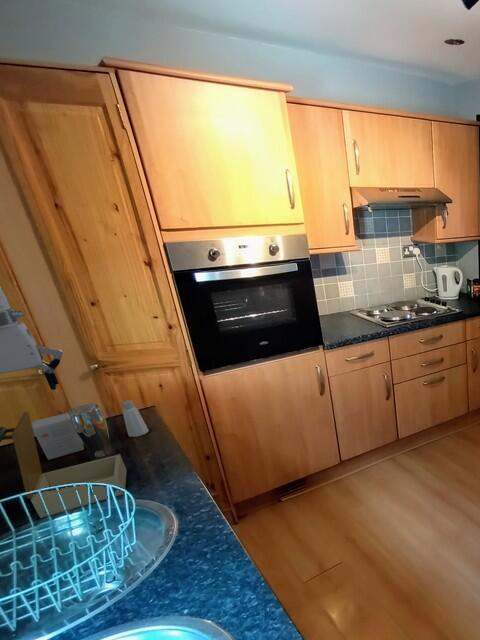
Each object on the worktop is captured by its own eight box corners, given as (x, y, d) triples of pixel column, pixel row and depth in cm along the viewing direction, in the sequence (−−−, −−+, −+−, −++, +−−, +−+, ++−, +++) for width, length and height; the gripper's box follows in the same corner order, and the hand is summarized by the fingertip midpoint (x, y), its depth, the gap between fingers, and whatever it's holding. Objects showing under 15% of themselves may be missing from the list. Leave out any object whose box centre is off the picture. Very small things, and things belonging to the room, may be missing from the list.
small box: (83, 442, 136) (69, 412, 132) (84, 449, 133) (70, 418, 129) (46, 452, 131) (31, 421, 127) (47, 460, 128) (31, 428, 123)
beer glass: (89, 464, 126) (68, 417, 120) (85, 455, 130) (64, 409, 124) (121, 454, 131) (102, 408, 124) (115, 446, 135) (97, 401, 129)
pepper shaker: (151, 427, 145) (140, 396, 141) (146, 435, 141) (134, 403, 136) (130, 430, 143) (118, 399, 139) (125, 438, 139) (112, 406, 134)
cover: (28, 412, 108) (-3, 414, 105) (16, 433, 98) (-18, 437, 95) (42, 472, 113) (12, 476, 110) (32, 498, 103) (0, 503, 100)
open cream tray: (126, 470, 123) (120, 454, 121) (124, 493, 114) (117, 476, 112) (49, 491, 115) (40, 474, 113) (40, 518, 106) (30, 500, 103)
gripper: (46, 309, 102) (76, 378, 109) (-70, 323, 92) (-29, 399, 99) (44, 316, 97) (75, 388, 104) (-79, 332, 87) (-35, 411, 94)
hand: (24, 393), depth 102 cm, fingers open, 9 cm apart
